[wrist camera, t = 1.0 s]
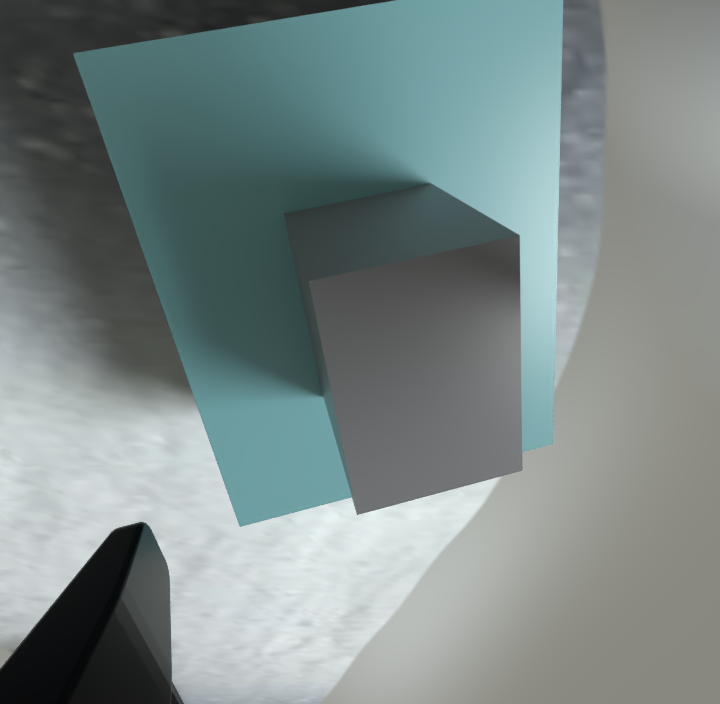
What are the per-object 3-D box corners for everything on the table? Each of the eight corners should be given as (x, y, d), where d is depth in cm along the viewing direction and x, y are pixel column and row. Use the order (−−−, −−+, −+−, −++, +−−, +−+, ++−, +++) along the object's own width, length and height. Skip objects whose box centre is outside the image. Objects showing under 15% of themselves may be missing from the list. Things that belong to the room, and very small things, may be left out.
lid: (523, 409, 19) (646, 553, 14) (238, 482, 18) (243, 671, 12) (519, -16, 13) (735, -75, 8) (94, 54, 12) (-21, 47, 7)
